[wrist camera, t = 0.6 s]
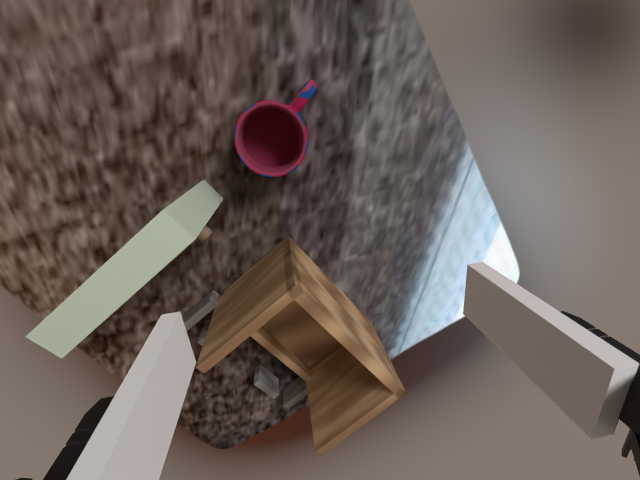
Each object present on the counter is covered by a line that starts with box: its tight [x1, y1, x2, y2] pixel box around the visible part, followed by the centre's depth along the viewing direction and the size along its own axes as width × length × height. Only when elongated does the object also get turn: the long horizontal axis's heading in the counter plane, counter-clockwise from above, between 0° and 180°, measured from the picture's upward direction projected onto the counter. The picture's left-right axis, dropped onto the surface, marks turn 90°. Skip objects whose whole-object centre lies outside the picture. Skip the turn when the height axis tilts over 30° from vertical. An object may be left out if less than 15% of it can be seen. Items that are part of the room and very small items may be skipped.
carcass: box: [183, 236, 406, 455], centre depth 36 cm, size 20×17×13 cm
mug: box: [234, 79, 317, 177], centre depth 31 cm, size 7×10×7 cm
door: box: [26, 180, 223, 358], centre depth 30 cm, size 15×4×14 cm, turn 130°
